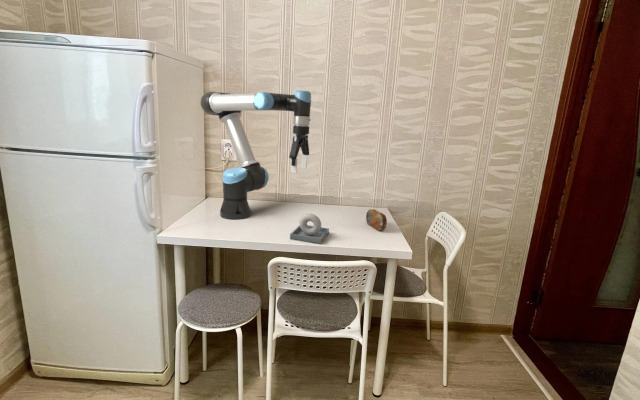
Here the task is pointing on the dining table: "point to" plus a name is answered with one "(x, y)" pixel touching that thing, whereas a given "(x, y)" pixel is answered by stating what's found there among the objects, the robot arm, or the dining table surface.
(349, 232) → the dining table surface
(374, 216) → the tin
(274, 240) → the dining table surface
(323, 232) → the tray
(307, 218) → the donut
